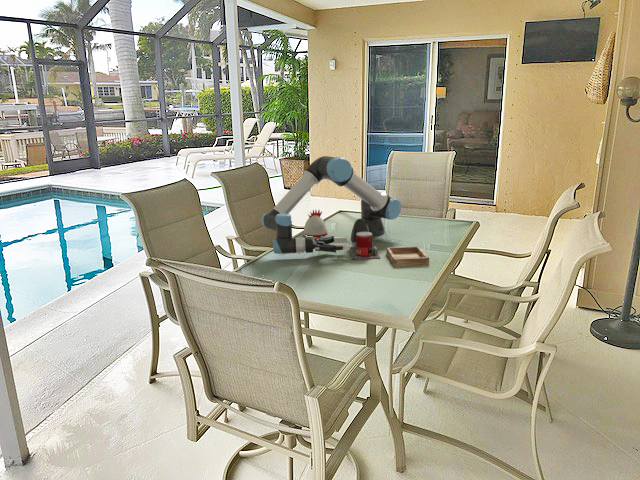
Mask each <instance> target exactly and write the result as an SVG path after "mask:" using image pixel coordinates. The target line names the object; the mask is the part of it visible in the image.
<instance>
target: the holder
mask: <svg viewBox="0 0 640 480" xmlns="http://www.w3.org/2000/svg"><path fill="white" fill-rule="evenodd" d="M348 251H349V253H348V254H349V255H350V257H351V260H356V261H357V260H372V259H374V260H375V259H381V256H380V254H379V253H378V248H377V246H374V245H372V255H374V256H370V257H359V256H356V255H355V253H356V250H348Z"/></svg>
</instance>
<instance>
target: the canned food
mask: <svg viewBox="0 0 640 480" xmlns="http://www.w3.org/2000/svg"><path fill="white" fill-rule="evenodd" d="M372 250H373V235H372V233H371V232H358V233H356V247H355V251H356V257H373V252H372Z"/></svg>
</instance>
